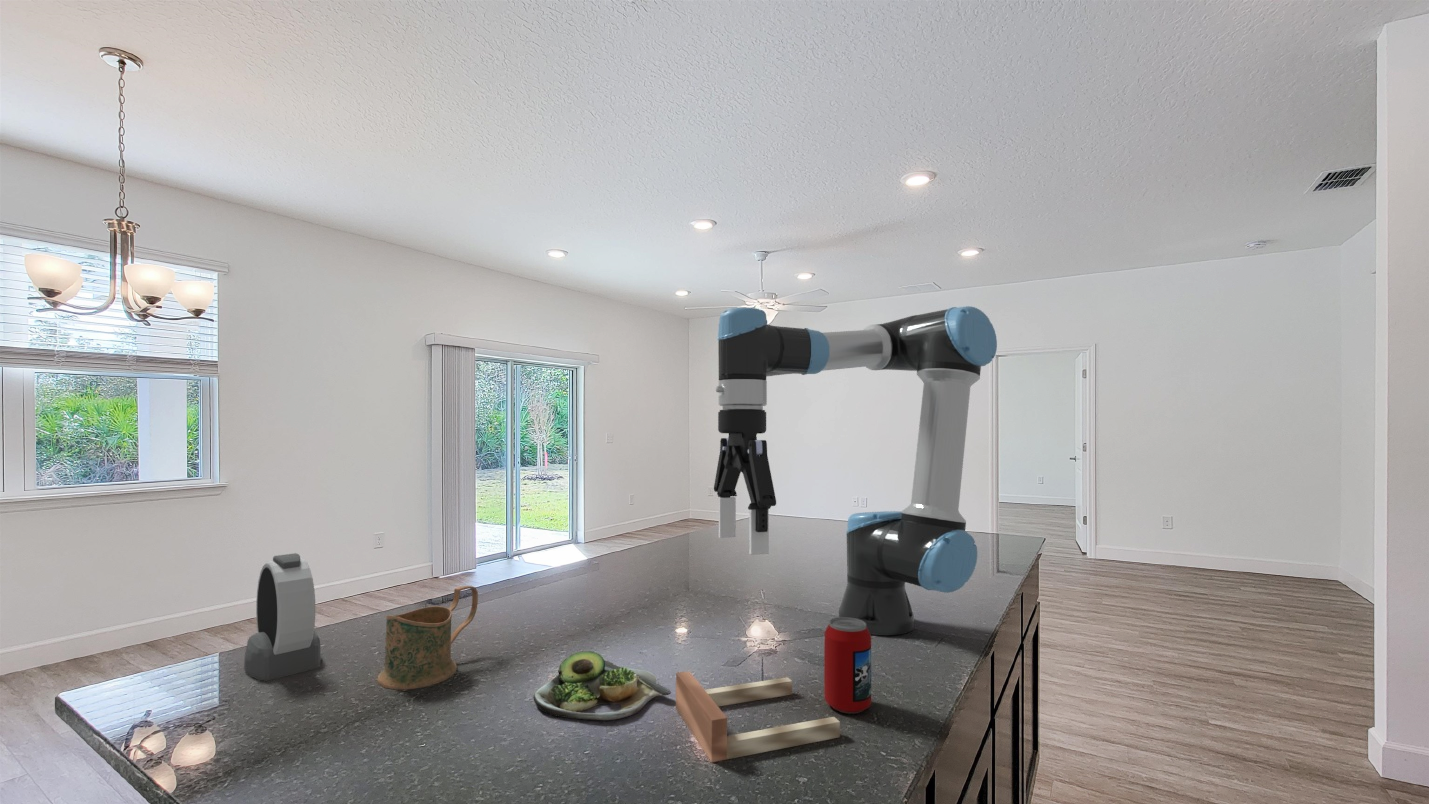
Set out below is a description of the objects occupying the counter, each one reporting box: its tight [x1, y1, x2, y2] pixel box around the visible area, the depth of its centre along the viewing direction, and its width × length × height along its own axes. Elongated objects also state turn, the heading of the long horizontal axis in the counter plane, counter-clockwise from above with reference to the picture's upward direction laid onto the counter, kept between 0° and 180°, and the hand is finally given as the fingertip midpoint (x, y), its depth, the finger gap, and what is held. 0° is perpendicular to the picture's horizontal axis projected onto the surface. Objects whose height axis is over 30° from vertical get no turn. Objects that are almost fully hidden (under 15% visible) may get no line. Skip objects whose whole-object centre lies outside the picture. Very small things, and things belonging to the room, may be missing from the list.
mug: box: [377, 585, 479, 690], centre depth 102 cm, size 12×18×12 cm, turn 155°
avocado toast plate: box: [532, 650, 672, 721], centre depth 92 cm, size 19×18×5 cm
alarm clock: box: [243, 552, 321, 681], centre depth 103 cm, size 16×10×18 cm, turn 47°
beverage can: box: [823, 616, 872, 714], centre depth 90 cm, size 7×7×12 cm
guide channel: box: [675, 670, 841, 763], centre depth 84 cm, size 18×15×5 cm
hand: (741, 545), depth 95 cm, fingers open, 13 cm apart
